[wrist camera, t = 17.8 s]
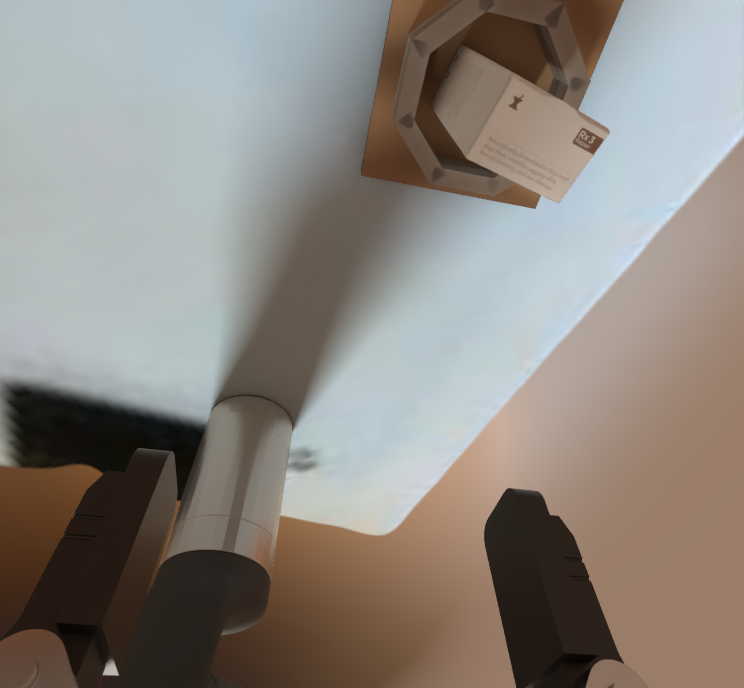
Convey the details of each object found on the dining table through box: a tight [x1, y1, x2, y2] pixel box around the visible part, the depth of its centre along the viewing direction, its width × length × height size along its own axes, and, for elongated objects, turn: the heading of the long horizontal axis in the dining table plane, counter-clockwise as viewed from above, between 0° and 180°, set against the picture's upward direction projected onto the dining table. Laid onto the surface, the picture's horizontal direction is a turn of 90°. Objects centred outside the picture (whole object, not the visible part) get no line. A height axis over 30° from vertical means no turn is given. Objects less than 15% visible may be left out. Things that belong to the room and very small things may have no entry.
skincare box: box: [431, 45, 609, 203], centre depth 28 cm, size 6×4×12 cm
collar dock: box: [361, 0, 624, 209], centre depth 32 cm, size 14×14×4 cm
